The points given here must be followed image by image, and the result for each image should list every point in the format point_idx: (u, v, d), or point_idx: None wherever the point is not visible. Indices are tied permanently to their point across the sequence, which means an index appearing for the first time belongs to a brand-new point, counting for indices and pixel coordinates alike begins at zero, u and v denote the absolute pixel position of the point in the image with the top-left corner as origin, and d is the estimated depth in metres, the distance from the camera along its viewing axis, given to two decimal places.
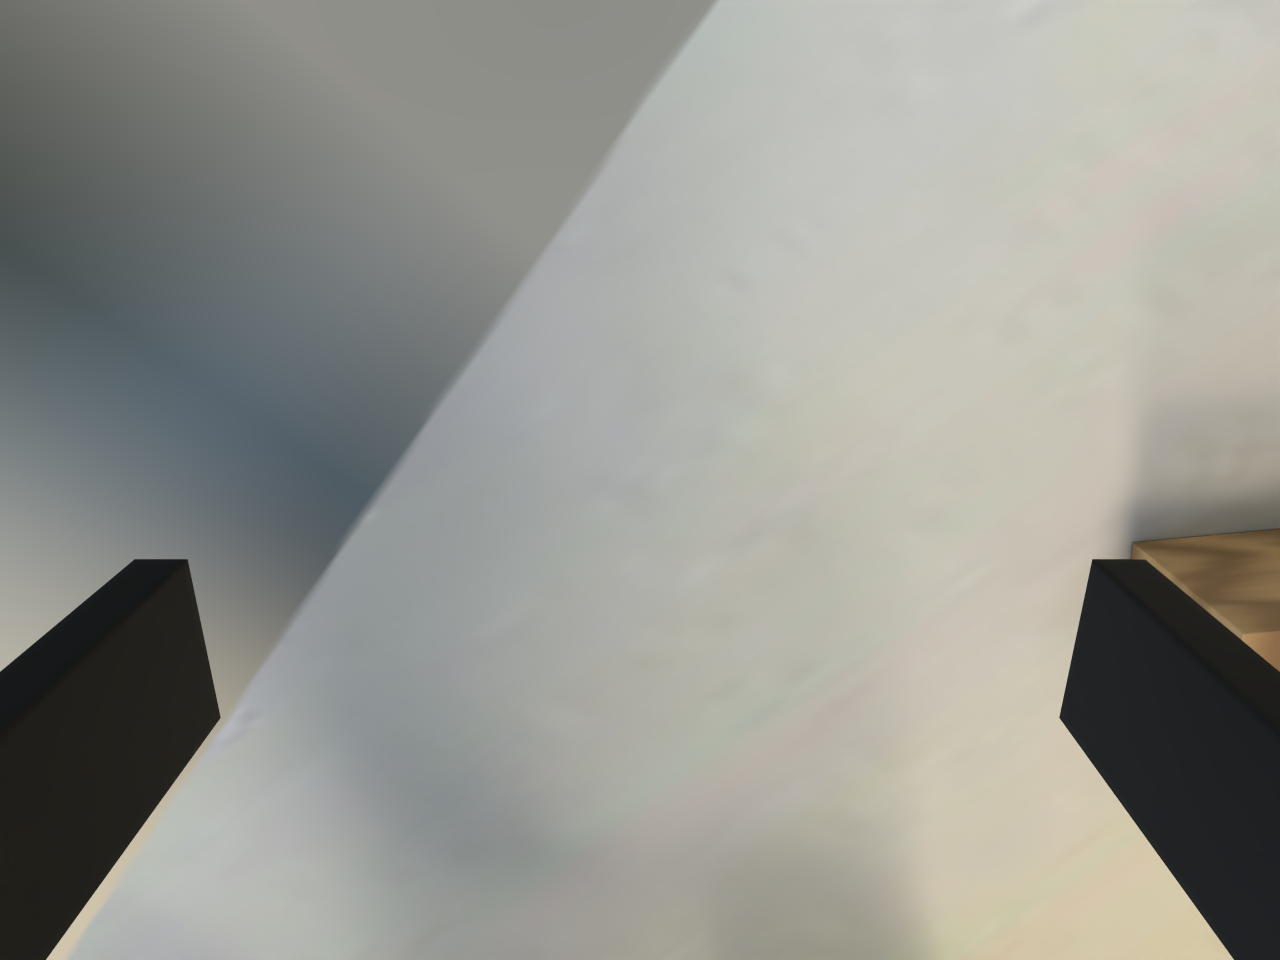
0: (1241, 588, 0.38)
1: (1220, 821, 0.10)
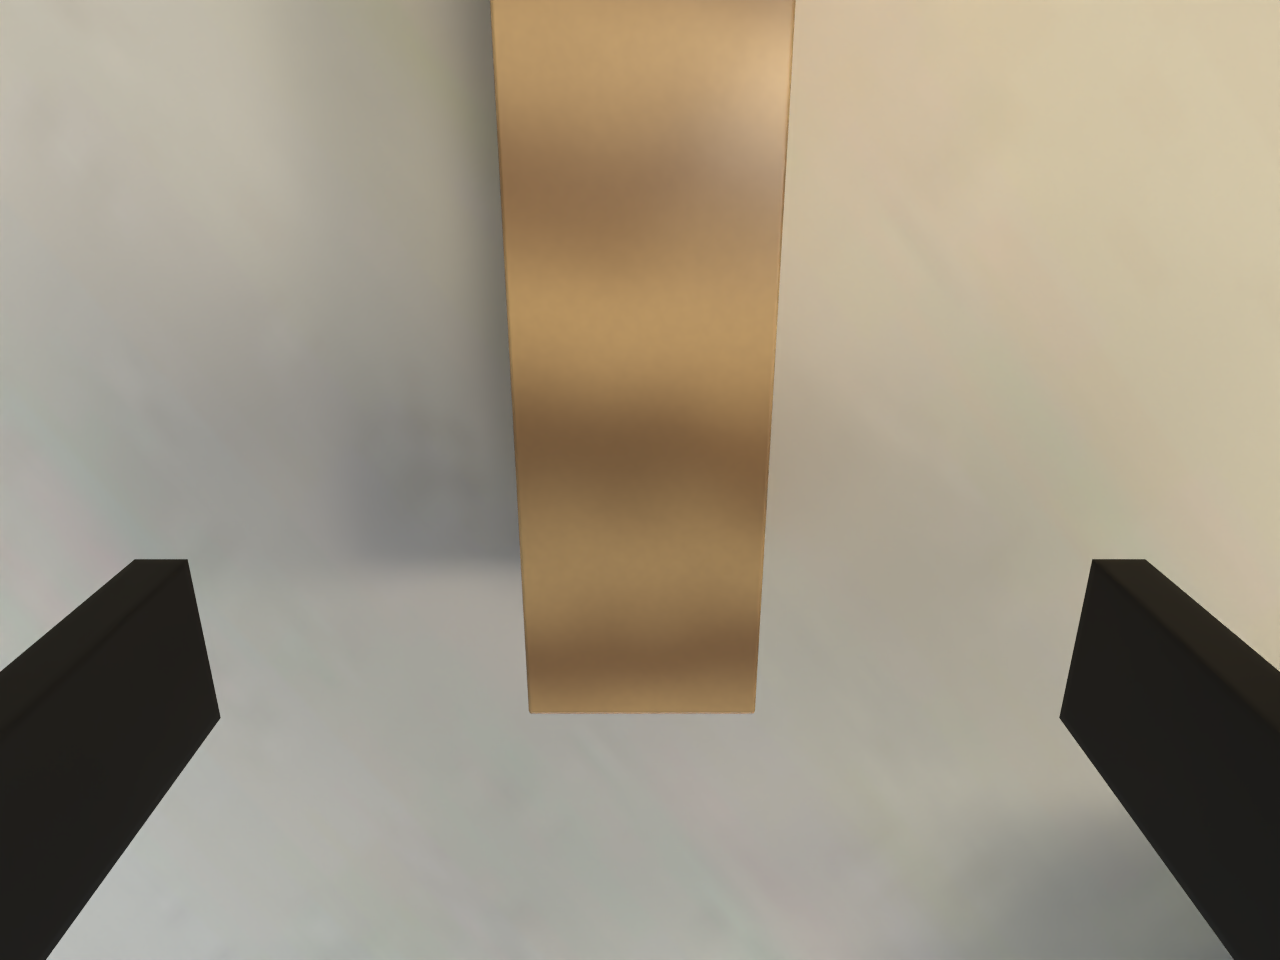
0: None
1: (1220, 821, 0.10)
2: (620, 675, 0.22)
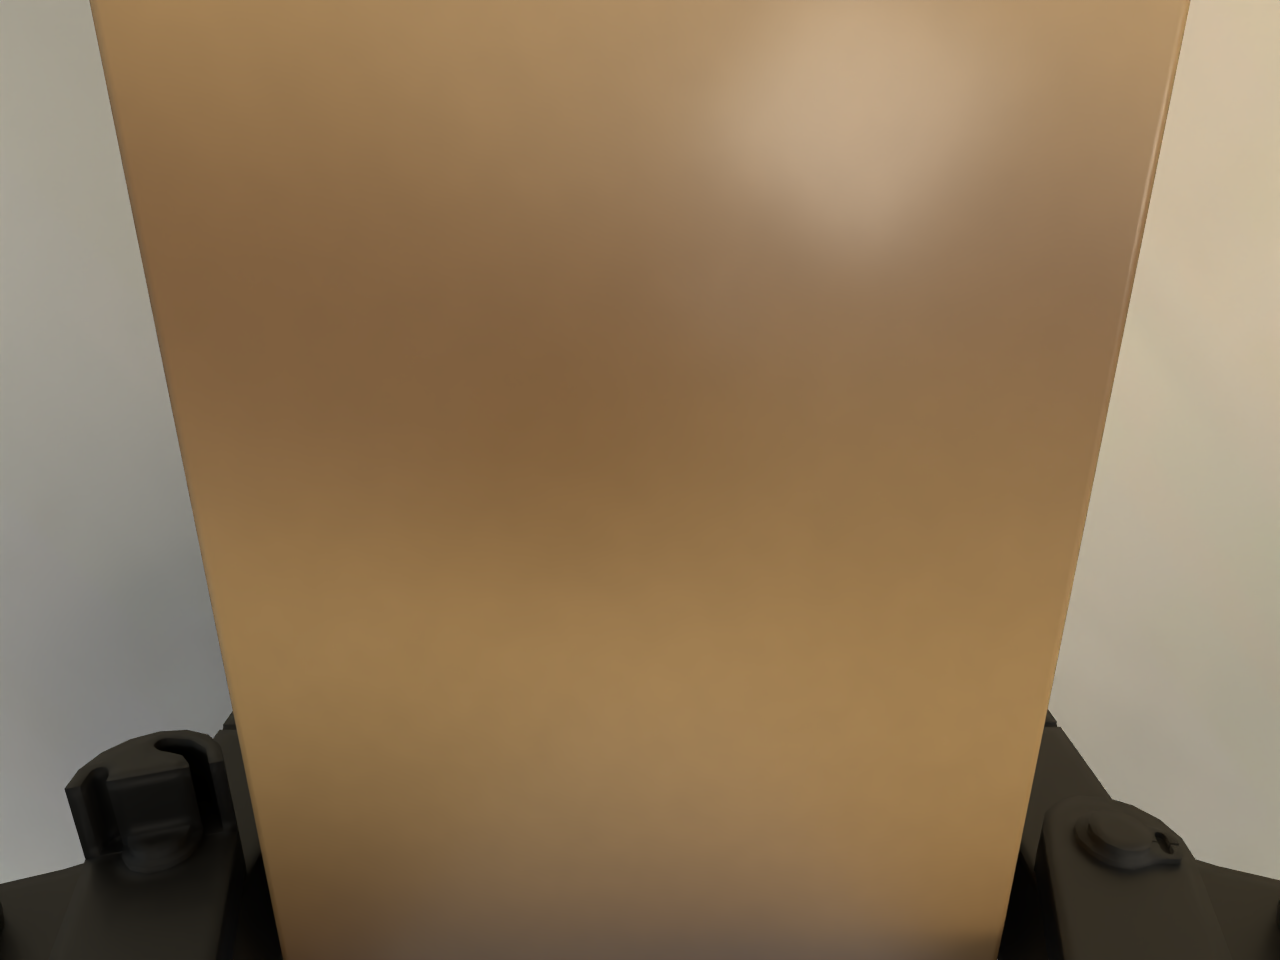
0: None
1: None
2: None
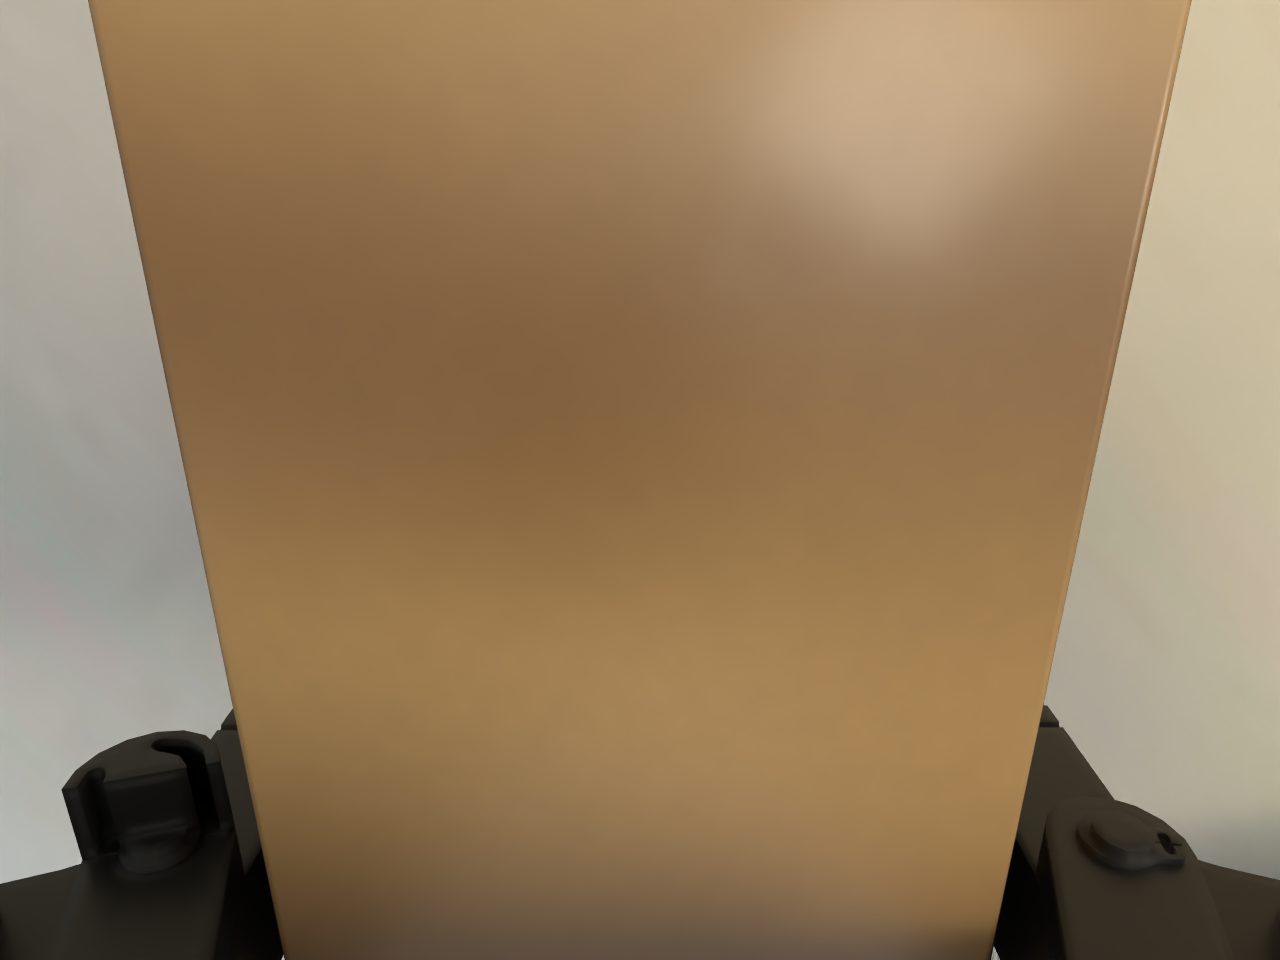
0: None
1: None
2: None
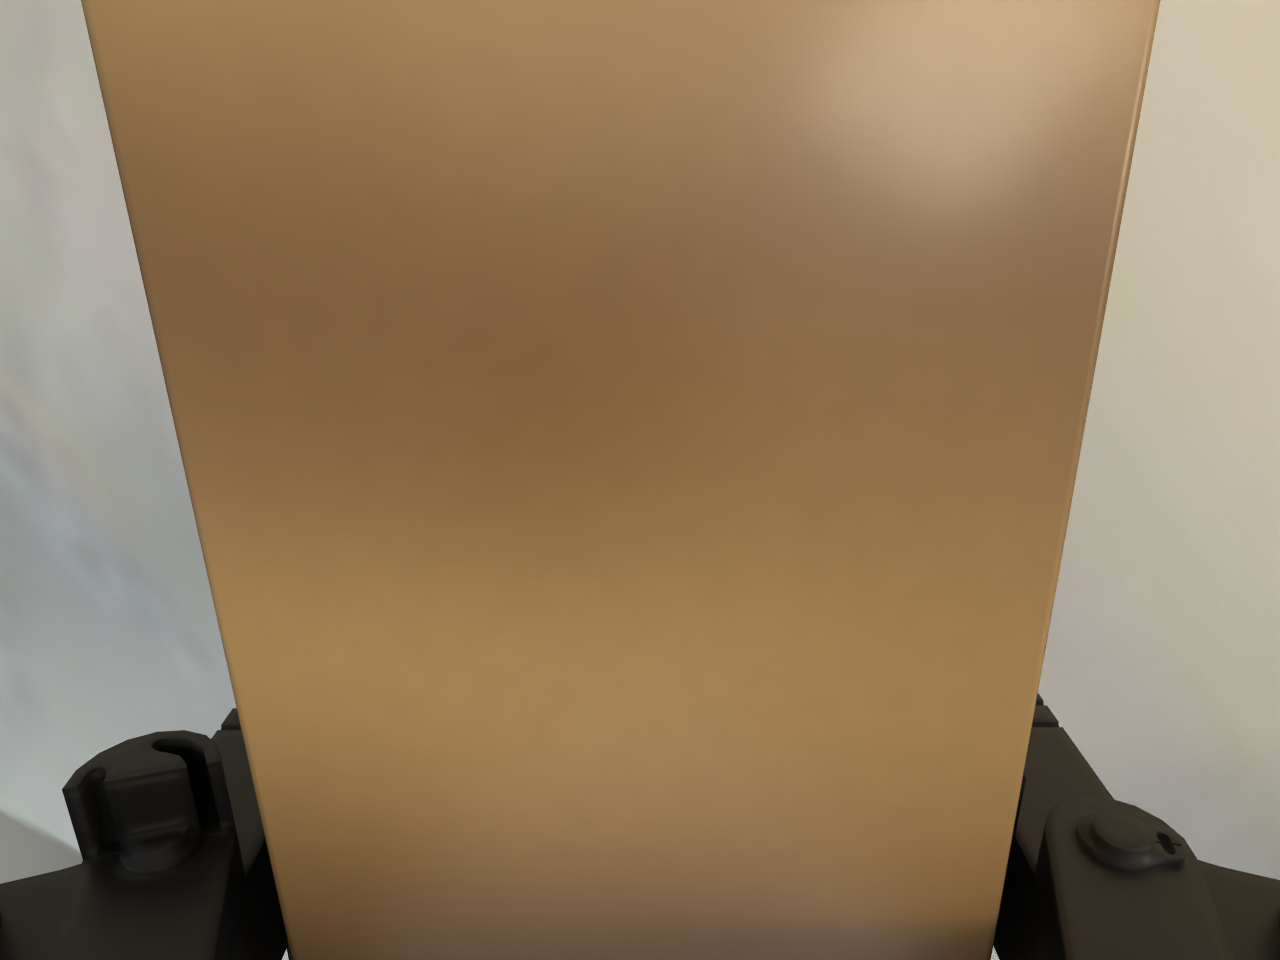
0: None
1: None
2: None
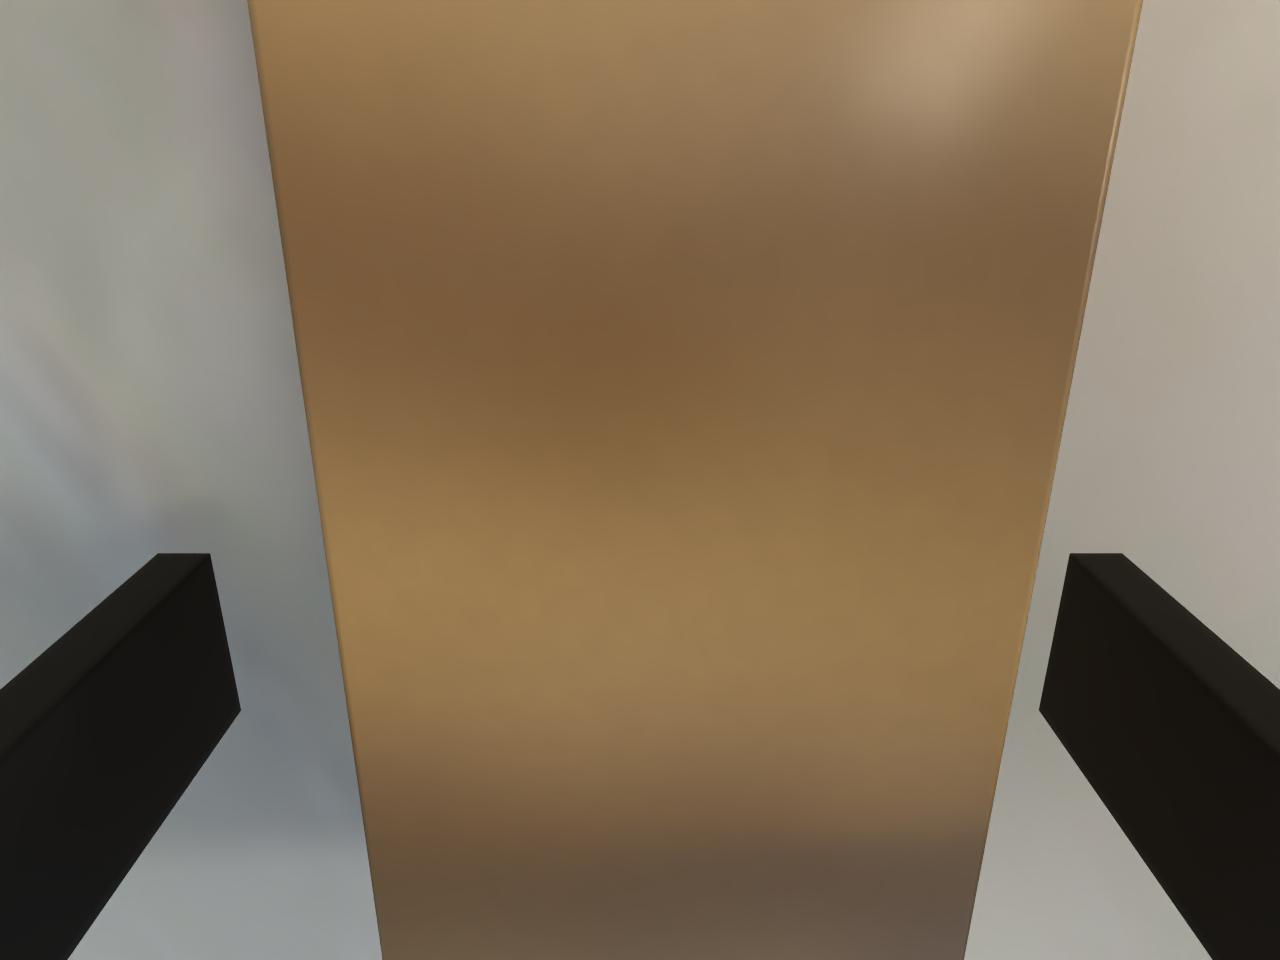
0: None
1: (1189, 809, 0.10)
2: None
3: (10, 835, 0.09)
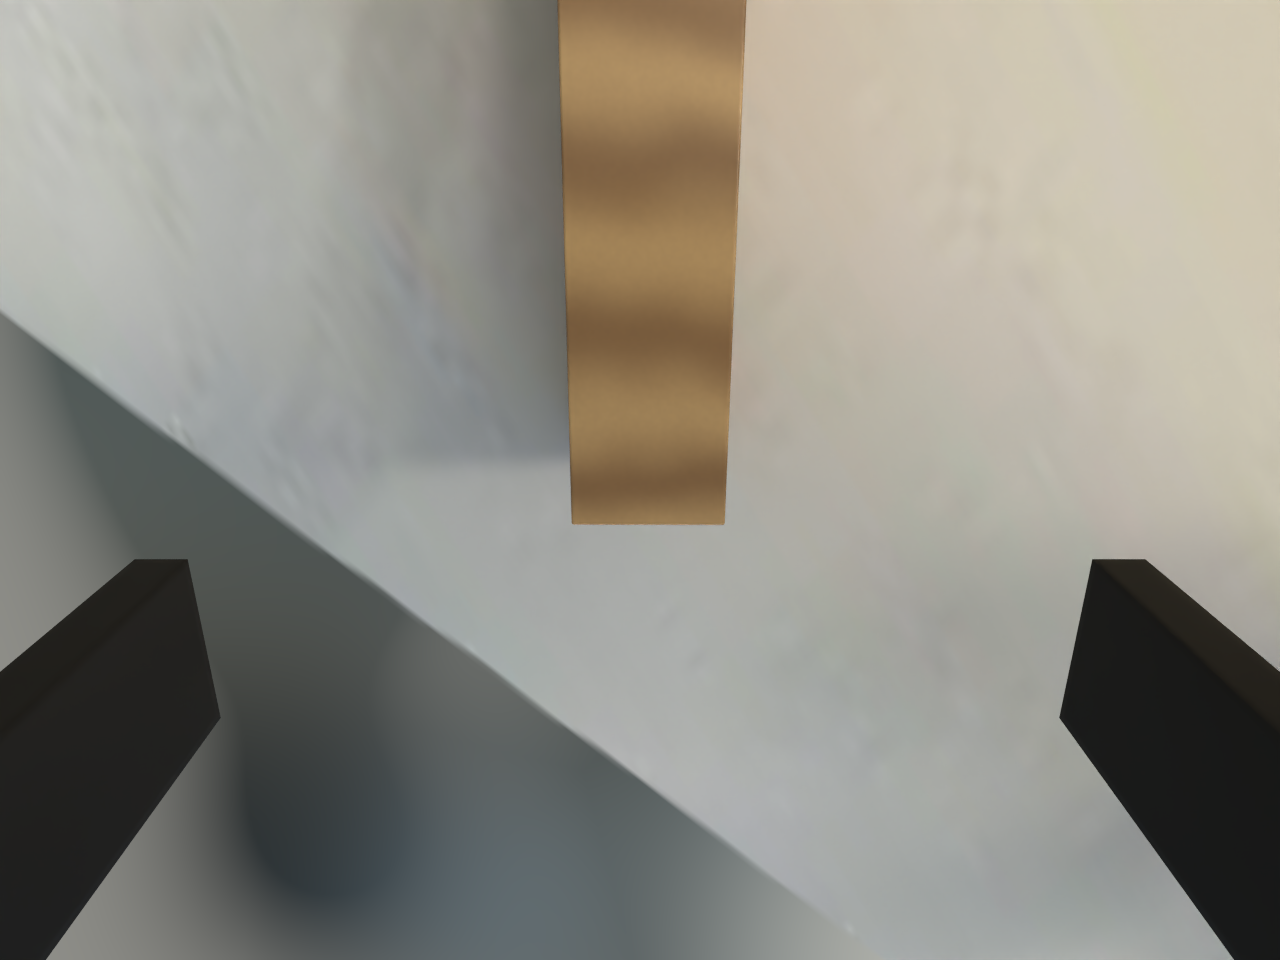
0: None
1: (1220, 821, 0.10)
2: (633, 496, 0.32)
3: None
